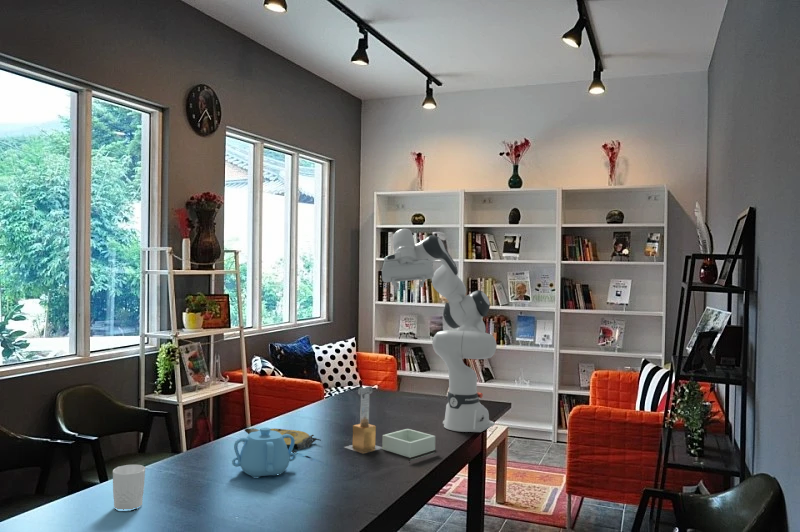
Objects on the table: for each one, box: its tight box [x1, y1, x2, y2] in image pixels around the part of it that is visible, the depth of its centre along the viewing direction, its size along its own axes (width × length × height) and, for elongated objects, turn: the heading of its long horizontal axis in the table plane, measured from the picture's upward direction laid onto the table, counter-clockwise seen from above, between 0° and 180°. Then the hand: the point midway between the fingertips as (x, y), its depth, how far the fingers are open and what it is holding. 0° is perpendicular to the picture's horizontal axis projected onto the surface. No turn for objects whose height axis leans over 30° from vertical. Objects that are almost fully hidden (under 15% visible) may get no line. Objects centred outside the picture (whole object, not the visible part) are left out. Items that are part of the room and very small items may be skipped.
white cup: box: [112, 464, 146, 510], centre depth 167 cm, size 8×8×10 cm
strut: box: [351, 386, 377, 451], centre depth 222 cm, size 6×6×21 cm
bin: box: [381, 428, 436, 462], centre depth 221 cm, size 13×13×6 cm
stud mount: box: [343, 444, 383, 455], centre depth 222 cm, size 10×10×8 cm
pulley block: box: [244, 427, 322, 454], centre depth 227 cm, size 14×6×30 cm
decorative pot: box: [231, 427, 297, 478], centre depth 197 cm, size 16×16×14 cm
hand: (409, 287), depth 245 cm, fingers open, 8 cm apart
